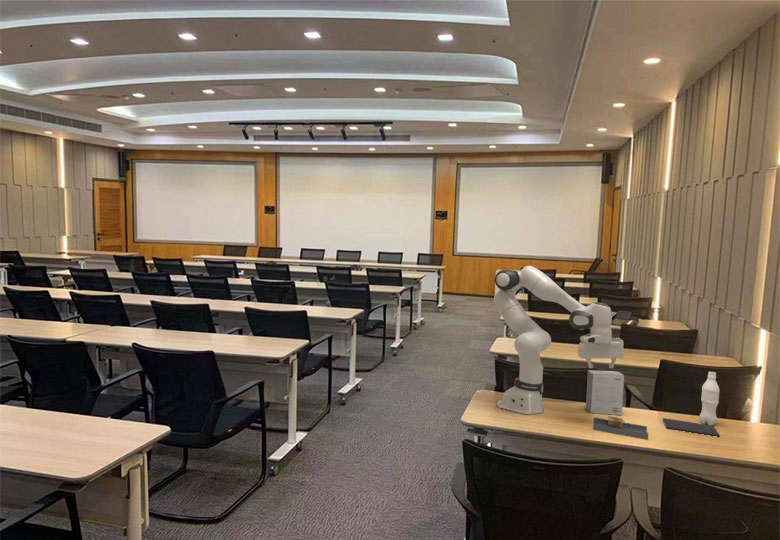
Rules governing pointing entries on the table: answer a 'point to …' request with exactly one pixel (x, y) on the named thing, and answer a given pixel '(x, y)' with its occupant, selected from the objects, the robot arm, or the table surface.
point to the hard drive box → (605, 392)
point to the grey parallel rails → (627, 429)
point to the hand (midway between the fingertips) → (601, 368)
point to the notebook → (690, 427)
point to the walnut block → (615, 422)
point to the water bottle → (709, 400)
